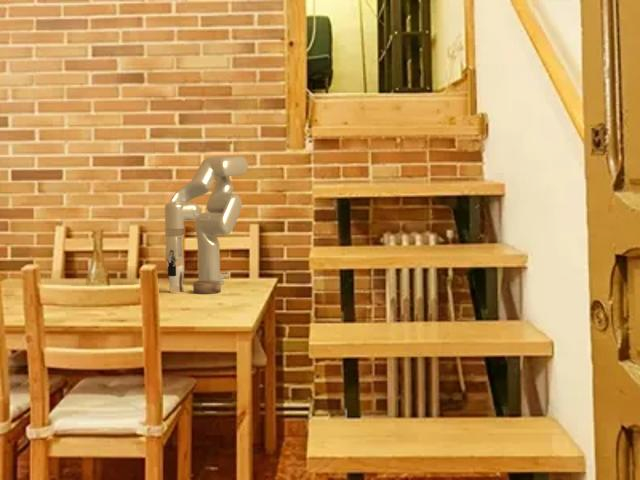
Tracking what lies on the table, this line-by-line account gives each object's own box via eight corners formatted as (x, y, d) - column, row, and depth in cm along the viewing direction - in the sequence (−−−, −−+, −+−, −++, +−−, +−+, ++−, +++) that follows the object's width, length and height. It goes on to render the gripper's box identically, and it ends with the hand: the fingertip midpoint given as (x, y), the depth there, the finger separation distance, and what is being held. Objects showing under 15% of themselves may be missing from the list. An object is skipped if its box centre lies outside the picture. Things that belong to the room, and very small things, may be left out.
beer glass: (164, 292, 292) (163, 256, 291) (174, 290, 298) (173, 254, 297) (179, 293, 289) (178, 257, 288) (188, 291, 296) (187, 255, 294)
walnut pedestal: (209, 289, 301) (209, 279, 300) (226, 291, 293) (225, 282, 293) (188, 292, 293) (187, 282, 292) (204, 295, 285) (204, 285, 285)
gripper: (170, 232, 300) (171, 272, 301) (159, 234, 283) (160, 277, 284) (188, 232, 300) (188, 272, 301) (178, 234, 283) (178, 277, 284)
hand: (175, 274), depth 293 cm, fingers open, 9 cm apart
